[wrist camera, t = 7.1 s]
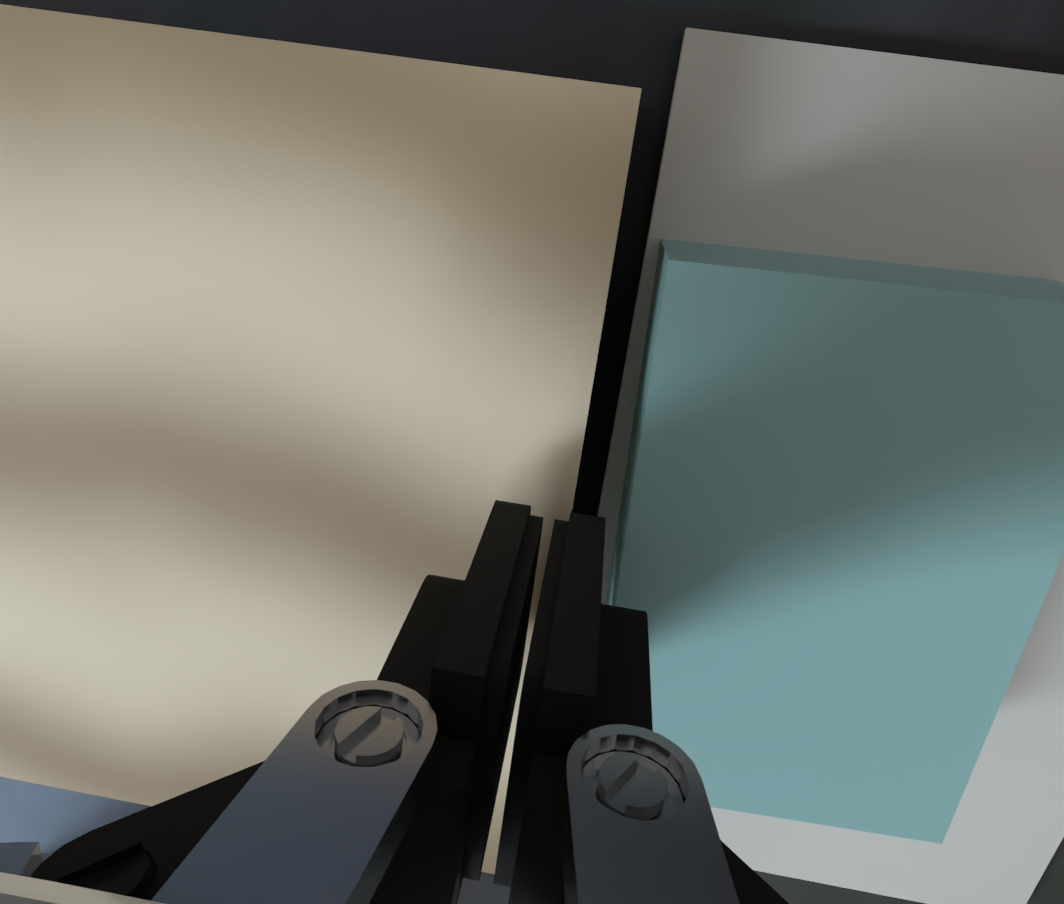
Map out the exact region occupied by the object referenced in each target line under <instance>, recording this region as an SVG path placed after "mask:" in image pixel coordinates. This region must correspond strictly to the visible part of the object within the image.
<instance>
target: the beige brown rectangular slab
mask: <svg viewBox="0 0 1064 904" xmlns="http://www.w3.org/2000/svg"><path fill="white" fill-rule="evenodd" d="M641 90H642V88H636V87H628V86H621V85H613V84H605V83H598V82H590V81H583V80H575V79H567V78H560V77H552V76H545V75H537V74H529V73H522V72H514V71H506V70H499V69H491V68H484V67H476V66H468V65H461V64H453V63H445V62H438V61H430V60H423V59H415V58H407V57H400V56H392V55H385V54H377V53H369V52H362V51H354V50H346V49H339V48H331V47H324V46H316V45H308V44H301V43H293V42H285V41H278V40H270V39H263V38H255V37H247V36H240V35H232V34H224V33H217V32H209V31H202V30H194V29H186V28H179V27H171V26H164V25H156V24H148V23H141V22H133V21H125V20H118V19H110V18H103V17H95V16H87V15H80V14H72V13H64V12H57V11H49V10H42V9H34V8H26V7H19V6H11V5H3V4H0V776H1V777H6V778H11V779H16V780H21V781H26V782H31V783H36V784H41V785H46V786H51V787H56V788H61V789H66V790H71V791H76V792H81V793H87V794H92V795H97V796H102V797H107V798H112V799H117V800H122V801H127V802H132V803H137V804H142V805H147V806H154V805H156V804H159V803H161V802H164V801H166V800H169V799H171V798H174V797H176V796H179V795H181V794H184V793H186V792H189V791H191V790H193V789H196V788H198V787H201V786H203V785H206V784H208V783H211V782H213V781H216V780H218V779H221V778H223V777H226V776H228V775H230V774H233V773H235V772H238V771H240V770H243V769H245V768H248V767H250V766H253V765H255V764H258V763H260V762H263V761H265V760H266V759H267V758H268V756H269V755H270V754H271V753H272V752H273V750H274V749H275V748H276V747H277V745H278V744H279V743H280V742H281V740H282V739H283V738H284V737H285V736H286V734H287V733H288V732H289V731H290V729H291V728H292V727H293V726H294V725H295V723H296V722H297V721H298V720H299V718H300V717H301V716H302V715H303V714H304V712H305V711H306V710H307V709H308V707H309V706H310V705H312V704H313V703H314V702H315V701H316V700H317V699H318V698H319V697H320V696H322V695H323V694H325V693H327V692H329V691H331V690H333V689H334V688H336V687H338V686H341V685H345V684H349V683H353V682H357V681H368V680H377V678H378V676H379V674H380V672H381V670H382V667H383V665H384V663H385V661H386V659H387V657H388V655H389V653H390V651H391V648H392V646H393V644H394V642H395V640H396V638H397V636H398V634H399V632H400V629H401V627H402V625H403V623H404V621H405V619H406V617H407V615H408V613H409V610H410V608H411V606H412V604H413V602H414V600H415V598H416V596H417V594H418V591H419V589H420V587H421V585H422V583H423V581H424V579H425V578H426V576H427V575H429V574H430V575H436V576H442V577H448V578H454V579H459V580H465V579H466V576H467V574H468V571H469V568H470V566H471V563H472V560H473V558H474V555H475V552H476V550H477V547H478V544H479V542H480V539H481V537H482V534H483V531H484V529H485V526H486V523H487V521H488V518H489V515H490V513H491V510H492V507H493V505H494V502H495V500H499V501H505V502H511V503H518V504H524V505H530V506H531V515H533V516H539V517H543V526H542V533H541V540H540V547H539V554H538V561H537V568H536V575H535V581H534V588H533V595H532V602H531V609H530V616H529V623H528V630H527V637H526V644H525V651H524V658H523V665H522V671H521V677H520V682H519V688H518V693H517V697H516V702H515V707H514V712H513V717H512V722H511V727H510V732H509V737H508V742H507V747H506V752H505V757H504V762H503V767H502V772H501V777H500V782H499V787H498V792H497V797H496V802H495V806H494V811H493V816H492V821H491V826H490V831H489V836H488V841H487V846H486V851H485V856H484V861H483V866H482V871H481V872H486V873H491V874H495V868H496V861H497V855H498V848H499V841H500V834H501V827H502V820H503V813H504V806H505V800H506V793H507V786H508V779H509V772H510V765H511V758H512V752H513V745H514V738H515V731H516V724H517V717H518V710H519V704H520V697H521V691H522V685H523V679H524V674H525V668H526V663H527V658H528V653H529V648H530V643H531V638H532V633H533V627H534V622H535V617H536V612H537V607H538V602H539V597H540V592H541V587H542V581H543V576H544V571H545V566H546V561H547V556H548V551H549V546H550V541H551V536H552V530H553V525H554V520H555V519H557V520H563V521H569V517H570V512H572V508H573V502H574V496H575V490H576V484H577V478H578V472H579V466H580V460H581V453H582V447H583V441H584V435H585V429H586V423H587V417H588V411H589V405H590V399H591V393H592V387H593V381H594V375H595V369H596V363H597V356H598V350H599V344H600V338H601V332H602V326H603V320H604V314H605V308H606V302H607V296H608V290H609V284H610V278H611V272H612V265H613V259H614V253H615V247H616V241H617V235H618V229H619V223H620V217H621V211H622V205H623V199H624V193H625V187H626V181H627V174H628V168H629V162H630V156H631V150H632V144H633V138H634V132H635V126H636V120H637V114H638V108H639V102H640V96H641Z"/></svg>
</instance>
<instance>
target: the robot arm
mask: <svg viewBox="0 0 1064 904" xmlns="http://www.w3.org/2000/svg"><path fill="white" fill-rule="evenodd" d="M605 525H606V518H603V517H597V516H591V515H585V514H579V513H573V512H570V517H569V521H563V520H557V519H555V520H554V525H553V530H552V536H551V541H550V546H549V551H548V556H547V561H546V566H545V571H544V576H543V581H542V587H541V592H540V597H539V602H538V607H537V612H536V617H535V622H534V627H533V633H532V638H531V643H530V648H529V653H528V658H527V663H526V668H525V674H524V679H523V685H522V691H521V697H520V704H519V710H518V717H517V724H516V731H515V738H514V745H513V752H512V758H511V765H510V772H509V779H508V786H507V793H506V800H505V806H504V813H503V820H502V827H501V834H500V841H499V848H498V855H497V861H496V868H495V875H494V883H493V884H498V885H503V886H508V887H511V891H510V897H509V903H508V904H789V903H788V902H787V901H785V900H784V899H783V898H782V897H781V896H780V895H779V894H778V893H777V892H776V891H775V890H774V889H773V888H771V887H770V886H769V885H768V884H767V883H766V882H765V881H764V880H763V879H762V878H761V877H760V876H759V875H758V874H756V873H755V872H754V871H753V870H752V869H751V868H750V867H749V866H748V865H747V864H746V863H745V862H744V861H743V860H741V859H740V858H739V857H738V856H737V855H736V854H735V853H734V852H733V851H732V850H731V849H730V848H729V847H727V846H726V845H725V844H724V843H723V842H722V841H721V840H720V837H719V834H718V830H717V827H716V824H715V821H714V817H713V814H712V811H711V807H710V804H709V801H708V797H707V794H706V791H705V788H704V784H703V781H702V778H701V776H700V774H699V772H698V770H697V768H696V766H695V764H694V762H693V761H692V760H691V759H690V758H689V757H688V755H687V754H686V753H685V752H684V751H683V750H682V749H681V748H680V747H679V746H677V745H676V744H675V743H673V742H672V741H670V740H669V739H667V738H666V737H664V736H663V735H660V734H658V733H655V732H653V725H652V703H651V681H650V659H649V637H648V618H647V613H646V611H641V610H635V609H630V608H624V607H618V606H612V605H606V604H601V597H602V579H603V561H604V543H605ZM542 526H543V517H539V516H533V515H531V506H530V505H524V504H518V503H511V502H505V501H499V500H495V502H494V505H493V507H492V510H491V513H490V515H489V518H488V521H487V523H486V526H485V529H484V531H483V534H482V537H481V539H480V542H479V544H478V547H477V550H476V552H475V555H474V558H473V560H472V563H471V566H470V568H469V571H468V574H467V576H466V579H465V580H459V579H454V578H448V577H442V576H436V575H430V574H429V575H427V576H426V578H425V579H424V581H423V583H422V585H421V587H420V589H419V591H418V594H417V596H416V598H415V600H414V602H413V604H412V606H411V608H410V610H409V613H408V615H407V617H406V619H405V621H404V623H403V625H402V627H401V629H400V632H399V634H398V636H397V638H396V640H395V642H394V644H393V646H392V648H391V651H390V653H389V655H388V657H387V659H386V661H385V663H384V665H383V667H382V670H381V672H380V674H379V676H378V678H377V680H368V681H357V682H353V683H349V684H345V685H341V686H338V687H336V688H334V689H333V690H331V691H329V692H327V693H325V694H323V695H322V696H320V697H319V698H318V699H317V700H316V701H315V702H314V703H313V704H312V705H310V706H309V707H308V709H307V710H306V711H305V712H304V714H303V715H302V716H301V717H300V718H299V720H298V721H297V722H296V723H295V725H294V726H293V727H292V728H291V729H290V731H289V732H288V733H287V734H286V736H285V737H284V738H283V739H282V740H281V742H280V743H279V744H278V745H277V747H276V748H275V749H274V750H273V752H272V753H271V754H270V755H269V756H268V758H267V759H266V760H265V761H263V762H260V763H258V764H255V765H253V766H250V767H248V768H245V769H243V770H240V771H238V772H235V773H233V774H230V775H228V776H226V777H223V778H221V779H218V780H216V781H213V782H211V783H208V784H206V785H203V786H201V787H198V788H196V789H193V790H191V791H189V792H186V793H184V794H181V795H179V796H176V797H174V798H171V799H169V800H166V801H164V802H161V803H159V804H156V805H154V806H151V807H149V808H147V809H144V810H142V811H139V812H137V813H134V814H132V815H129V816H127V817H124V818H122V819H119V820H117V821H114V822H112V823H110V824H107V825H105V826H102V827H100V828H97V829H95V830H92V831H90V832H88V833H86V834H84V835H82V836H80V837H78V838H76V839H74V840H73V841H71V842H69V843H67V844H65V845H63V846H62V847H61V848H59V849H58V850H57V851H56V852H54V853H53V854H41V852H40V847H39V842H12V843H0V904H457V902H458V897H459V893H460V888H461V884H462V880H463V878H467V879H473V880H478V881H479V880H480V876H481V871H482V866H483V861H484V856H485V851H486V846H487V841H488V836H489V831H490V826H491V821H492V816H493V811H494V806H495V802H496V797H497V792H498V787H499V782H500V777H501V772H502V767H503V762H504V757H505V752H506V747H507V742H508V737H509V732H510V727H511V722H512V717H513V712H514V707H515V702H516V697H517V693H518V688H519V682H520V677H521V671H522V665H523V658H524V651H525V644H526V637H527V630H528V623H529V616H530V609H531V602H532V595H533V588H534V581H535V575H536V568H537V561H538V554H539V547H540V540H541V533H542Z"/></svg>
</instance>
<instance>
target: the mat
mask: <svg viewBox="0 0 1064 904" xmlns="http://www.w3.org/2000/svg"><path fill="white" fill-rule="evenodd" d="M660 239H667V240H677V241H686V242H696V243H705V244H715V245H725V246H734V247H744V248H753V249H763V250H772V251H782V252H791V253H801V254H811V255H820V256H830V257H839V258H849V259H858V260H868V261H878V262H887V263H897V264H906V265H916V266H925V267H935V268H944V269H954V270H964V271H973V272H983V273H992V274H1002V275H1011V276H1021V277H1031V278H1040V279H1050V280H1057V281H1060V282H1063V283H1064V75H1061V74H1053V73H1045V72H1037V71H1029V70H1021V69H1013V68H1005V67H997V66H989V65H981V64H973V63H965V62H957V61H949V60H941V59H933V58H925V57H917V56H910V55H902V54H894V53H886V52H878V51H870V50H862V49H854V48H846V47H838V46H830V45H822V44H814V43H806V42H798V41H790V40H782V39H774V38H766V37H758V36H751V35H743V34H735V33H727V32H719V31H711V30H703V29H695V28H687V27H686V29H685V31H684V36H683V41H682V47H681V52H680V58H679V64H678V69H677V75H676V80H675V86H674V91H673V97H672V102H671V108H670V114H669V119H668V125H667V130H666V136H665V141H664V147H663V152H662V158H661V164H660V169H659V175H658V180H657V186H656V191H655V197H654V202H653V208H652V213H651V219H650V225H649V230H648V236H647V241H646V247H645V252H644V258H643V263H642V269H641V275H640V280H639V286H638V291H637V297H636V302H635V308H634V313H633V319H632V325H631V330H630V336H629V341H628V347H627V352H626V358H625V363H624V369H623V375H622V380H621V386H620V391H619V397H618V402H617V408H616V413H615V419H614V424H613V430H612V436H611V441H610V447H609V452H608V458H607V463H606V469H605V474H604V480H603V486H602V491H601V497H600V502H599V508H598V513H597V517H603V518H606V525H605V543H604V561H603V579H602V597H601V604H606V598H607V592H608V585H609V578H610V572H611V565H612V558H613V552H614V545H615V538H616V532H617V525H618V518H619V512H620V505H621V498H622V492H623V485H624V479H625V472H626V465H627V459H628V452H629V445H630V439H631V432H632V425H633V419H634V412H635V405H636V399H637V392H638V385H639V379H640V372H641V365H642V359H643V352H644V346H645V339H646V332H647V326H648V319H649V312H650V306H651V299H652V292H653V286H654V279H655V272H656V266H657V259H658V252H659V246H660ZM711 811H712V814H713V817H714V821H715V824H716V827H717V830H718V834H719V837H720V840H721V841H722V842H723V843H724V844H725V845H726V846H727V847H729V848H730V849H731V850H732V851H733V852H734V853H735V854H736V855H737V856H738V857H739V858H740V859H741V860H743V861H744V862H745V863H746V864H747V865H748V866H749V867H750V868H751V869H752V870H756V871H761V872H766V873H771V874H776V875H781V876H787V877H792V878H797V879H802V880H807V881H812V882H818V883H823V884H828V885H833V886H838V887H843V888H849V889H854V890H859V891H864V892H869V893H874V894H880V895H885V896H890V897H895V898H900V899H906V900H911V901H916V902H921V903H926V904H1026V903H1027V901H1028V900H1029V898H1030V896H1031V894H1032V892H1033V891H1034V889H1035V887H1036V885H1037V884H1038V882H1039V880H1040V878H1041V876H1042V875H1043V873H1044V871H1045V869H1046V868H1047V866H1048V864H1049V862H1050V860H1051V859H1052V857H1053V855H1054V853H1055V852H1056V850H1057V848H1058V846H1059V844H1060V843H1061V841H1062V839H1063V837H1064V554H1063V556H1062V558H1061V561H1060V563H1059V566H1058V568H1057V570H1056V573H1055V575H1054V578H1053V580H1052V582H1051V585H1050V587H1049V589H1048V592H1047V594H1046V597H1045V599H1044V601H1043V604H1042V606H1041V609H1040V611H1039V613H1038V616H1037V618H1036V621H1035V623H1034V625H1033V628H1032V630H1031V633H1030V635H1029V637H1028V640H1027V642H1026V645H1025V647H1024V649H1023V652H1022V654H1021V656H1020V659H1019V661H1018V664H1017V666H1016V668H1015V671H1014V673H1013V676H1012V678H1011V680H1010V683H1009V685H1008V688H1007V690H1006V692H1005V695H1004V697H1003V700H1002V702H1001V704H1000V707H999V709H998V711H997V714H996V716H995V719H994V721H993V723H992V726H991V728H990V731H989V733H988V735H987V738H986V740H985V743H984V745H983V747H982V750H981V752H980V755H979V757H978V759H977V762H976V764H975V766H974V769H973V771H972V774H971V776H970V778H969V781H968V783H967V786H966V788H965V790H964V793H963V795H962V798H961V800H960V802H959V805H958V807H957V810H956V812H955V814H954V817H953V819H952V821H951V824H950V826H949V829H948V831H947V833H946V836H945V838H944V841H943V843H942V844H939V843H933V842H926V841H920V840H914V839H908V838H902V837H895V836H889V835H883V834H877V833H870V832H864V831H858V830H852V829H845V828H839V827H833V826H827V825H820V824H814V823H808V822H802V821H795V820H789V819H783V818H777V817H770V816H764V815H758V814H752V813H745V812H739V811H733V810H727V809H720V808H714V807H711Z"/></svg>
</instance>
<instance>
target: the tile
mask: <svg viewBox="0 0 1064 904" xmlns="http://www.w3.org/2000/svg"><path fill="white" fill-rule="evenodd" d="M1063 554H1064V283H1063V282H1060V281H1057V280H1050V279H1040V278H1031V277H1021V276H1011V275H1002V274H992V273H983V272H973V271H964V270H954V269H944V268H935V267H925V266H916V265H906V264H897V263H887V262H878V261H868V260H858V259H849V258H839V257H830V256H820V255H811V254H801V253H791V252H782V251H772V250H763V249H753V248H744V247H734V246H725V245H715V244H705V243H696V242H686V241H677V240H667V239H660V246H659V252H658V259H657V266H656V272H655V279H654V286H653V292H652V299H651V306H650V312H649V319H648V326H647V332H646V339H645V346H644V352H643V359H642V365H641V372H640V379H639V385H638V392H637V399H636V405H635V412H634V419H633V425H632V432H631V439H630V445H629V452H628V459H627V465H626V472H625V479H624V485H623V492H622V498H621V505H620V512H619V518H618V525H617V532H616V538H615V545H614V552H613V558H612V565H611V572H610V578H609V585H608V592H607V598H606V605H612V606H618V607H624V608H630V609H635V610H641V611H646V613H647V618H648V637H649V659H650V681H651V703H652V725H653V732H655V733H658V734H660V735H663V736H664V737H666V738H667V739H669V740H670V741H672V742H673V743H675V744H676V745H677V746H679V747H680V748H681V749H682V750H683V751H684V752H685V753H686V754H687V755H688V757H689V758H690V759H691V760H692V761H693V762H694V764H695V766H696V768H697V770H698V772H699V774H700V776H701V778H702V781H703V784H704V788H705V791H706V794H707V797H708V801H709V804H710V807H714V808H720V809H727V810H733V811H739V812H745V813H752V814H758V815H764V816H770V817H777V818H783V819H789V820H795V821H802V822H808V823H814V824H820V825H827V826H833V827H839V828H845V829H852V830H858V831H864V832H870V833H877V834H883V835H889V836H895V837H902V838H908V839H914V840H920V841H926V842H933V843H939V844H942V843H943V841H944V838H945V836H946V833H947V831H948V829H949V826H950V824H951V821H952V819H953V817H954V814H955V812H956V810H957V807H958V805H959V802H960V800H961V798H962V795H963V793H964V790H965V788H966V786H967V783H968V781H969V778H970V776H971V774H972V771H973V769H974V766H975V764H976V762H977V759H978V757H979V755H980V752H981V750H982V747H983V745H984V743H985V740H986V738H987V735H988V733H989V731H990V728H991V726H992V723H993V721H994V719H995V716H996V714H997V711H998V709H999V707H1000V704H1001V702H1002V700H1003V697H1004V695H1005V692H1006V690H1007V688H1008V685H1009V683H1010V680H1011V678H1012V676H1013V673H1014V671H1015V668H1016V666H1017V664H1018V661H1019V659H1020V656H1021V654H1022V652H1023V649H1024V647H1025V645H1026V642H1027V640H1028V637H1029V635H1030V633H1031V630H1032V628H1033V625H1034V623H1035V621H1036V618H1037V616H1038V613H1039V611H1040V609H1041V606H1042V604H1043V601H1044V599H1045V597H1046V594H1047V592H1048V589H1049V587H1050V585H1051V582H1052V580H1053V578H1054V575H1055V573H1056V570H1057V568H1058V566H1059V563H1060V561H1061V558H1062V556H1063Z"/></svg>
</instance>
